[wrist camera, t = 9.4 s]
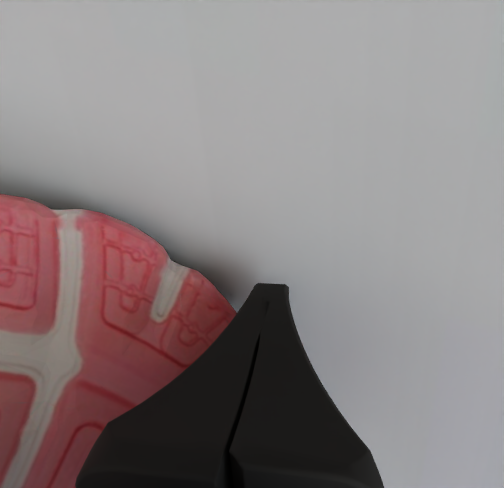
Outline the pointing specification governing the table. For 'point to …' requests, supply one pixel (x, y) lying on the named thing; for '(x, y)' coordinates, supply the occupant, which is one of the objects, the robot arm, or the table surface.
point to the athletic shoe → (86, 333)
